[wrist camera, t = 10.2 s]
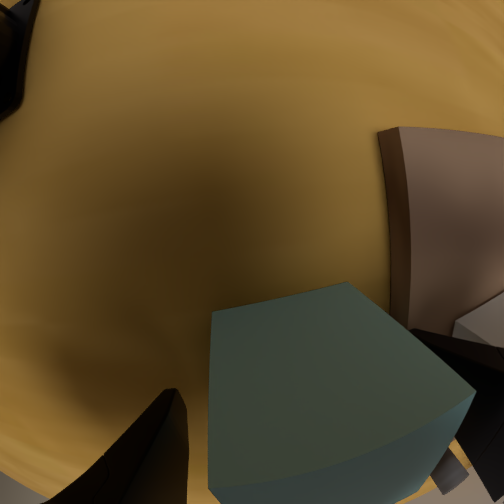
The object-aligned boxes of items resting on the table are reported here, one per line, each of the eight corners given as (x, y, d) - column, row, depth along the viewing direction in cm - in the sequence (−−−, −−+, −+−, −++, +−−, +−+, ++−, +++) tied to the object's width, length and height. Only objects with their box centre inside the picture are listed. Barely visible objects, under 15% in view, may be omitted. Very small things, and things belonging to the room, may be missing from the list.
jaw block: (212, 311, 8) (208, 488, 3) (347, 281, 9) (476, 391, 3) (240, 407, 10) (259, 543, 4) (348, 380, 10) (417, 491, 4)
